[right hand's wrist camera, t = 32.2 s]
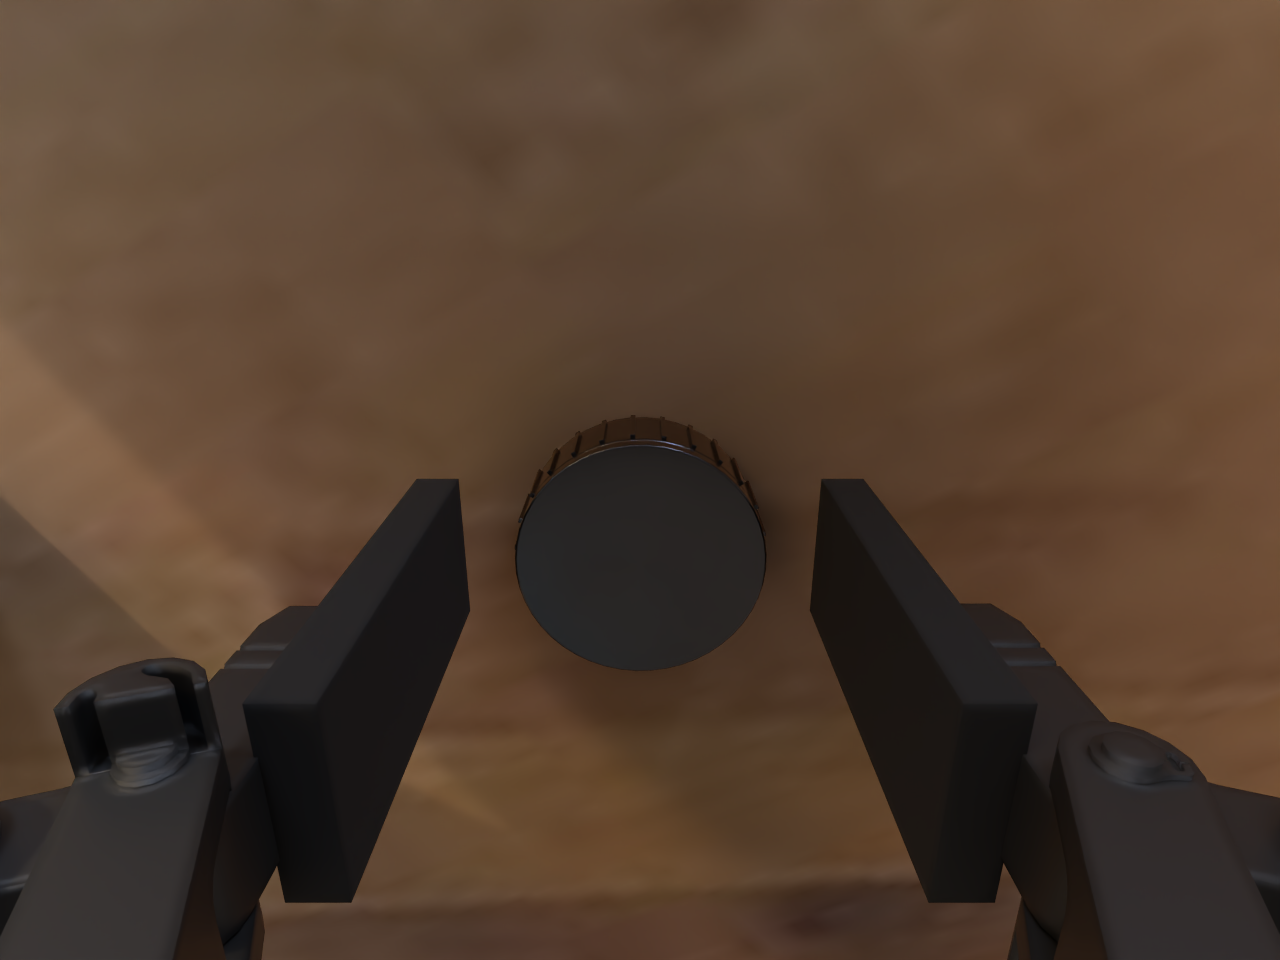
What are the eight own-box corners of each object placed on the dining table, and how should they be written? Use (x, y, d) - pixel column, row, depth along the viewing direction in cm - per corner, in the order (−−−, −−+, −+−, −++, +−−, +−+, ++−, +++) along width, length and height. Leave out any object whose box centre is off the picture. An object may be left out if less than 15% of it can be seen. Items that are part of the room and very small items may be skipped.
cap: (780, 435, 15) (797, 466, 13) (727, 640, 16) (737, 691, 15) (542, 393, 14) (529, 420, 13) (512, 606, 16) (498, 654, 14)
